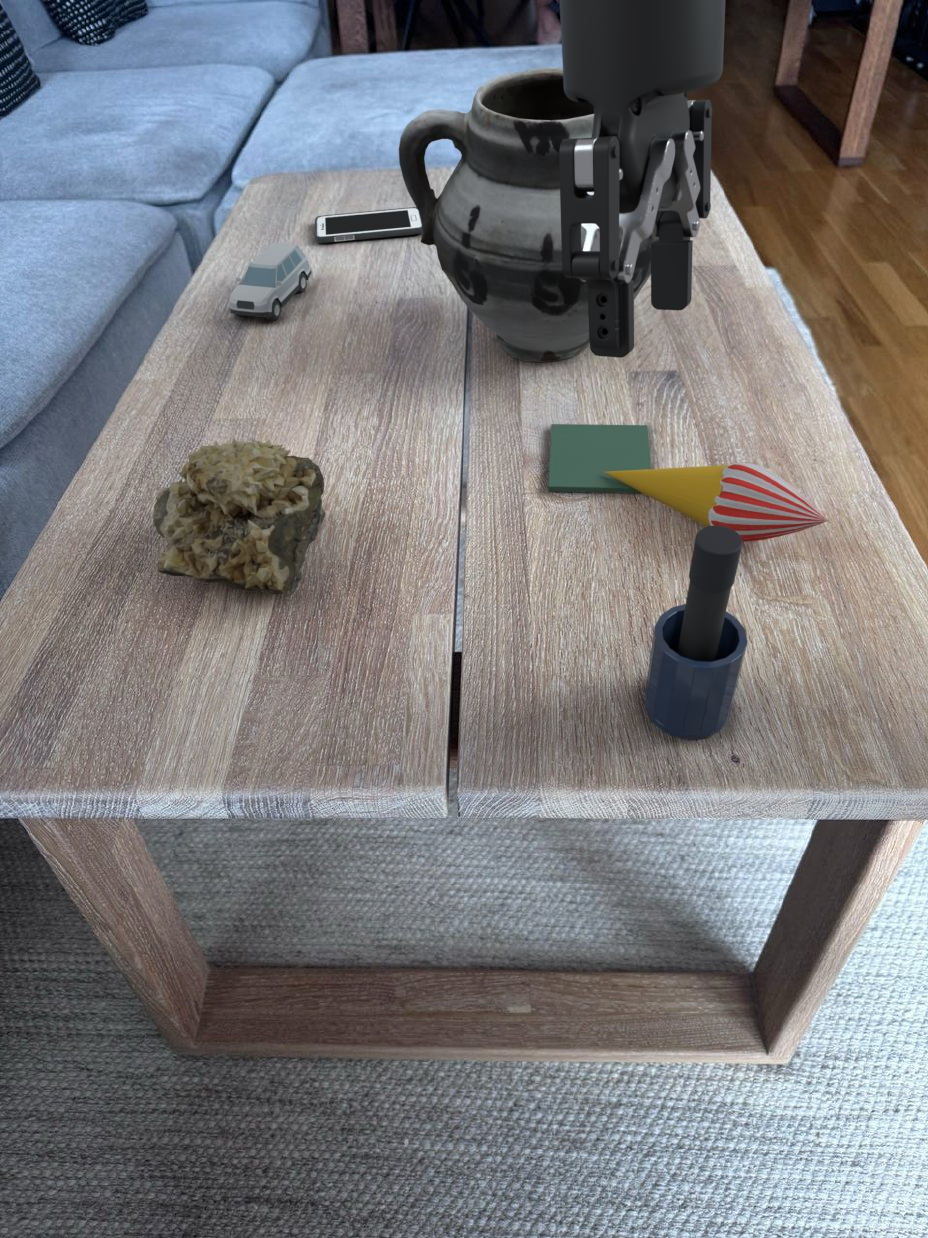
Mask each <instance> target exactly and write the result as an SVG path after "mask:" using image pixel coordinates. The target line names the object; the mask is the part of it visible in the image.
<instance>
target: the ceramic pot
mask: <svg viewBox="0 0 928 1238" xmlns="http://www.w3.org/2000/svg"><path fill="white" fill-rule="evenodd" d="M593 118H594V107H593V106H592V104H591V103H590V102H576V101H572V100H570V99H569V98H568V97H567V96H566V94H565V92H564V82H563V67H543V68H542V67H541V68H535V69H533V68H532V69H526V70H524V71H515V72H513V71H512V72H507V73H504V74H501V75H499V76H496V77H493V78H490V79H489V80H487V81H486V82H485V83H483V84H482V85H481V86H479V87H478V89H477V91H476V93H475V95H474V96H473V100H472V105H471V109H470V110H469V111H467V112H460V111H458V110H448V109H440V108H439V109H428V110H426V111H423V112H422V113H420V114H419V115H417V116H416V117H414V118H413V119H412V120H410V121H409V123H407V124H406V126H405V127H404V129H403V132H402V134H401V136H400V137H399V146H398V161H399V162H398V163H399V167H400V171H401V175H402V179H403V181H404V184H405V187H406V190H407V193H408V194H409V197H410V198H411V200H412V202H413V203H414V206H415V207H417V209H418V211H419V213H420V216H421V220H422V233H421V237H420V240H419V241H420V243H421V244H424V245H426V246H434V247H435V250H436V254H437V259H438V262H439V266H440V269H441V271H442V272H443V273H444V274H445V276H446V278H447V279H448V280H449V282H450V283H451V284H452V285H451V286H453V288H454V289H455V291H456V293H457V294H458V296H459V298H460V299H461V301H462V302H463V304H464V305H465V306H466V307H467V309H468V310H469V311H470V312H471V314H473V315H474V316H475V317H476V318H477V319H478V320H479V321H480V322H481V323H482V324H483V325H484V326H485V327H486V328H487V329H488V330H489V331H491V332H492V333H494V334H495V335H496V339H497V341H498V344H499V346H500V348H501V349H502V350H503V351H504V353H505V354H506V355H508V356H509V357H511V358H514V359H516V360H519V361H523V362H529V363H547V362H557V361H562V360H567V359H570V358H573V357H576V356H578V355H580V354H581V353H583V352H584V351H585V350H586V349H587V348H588V346H590V341H589V315H588V289H587V282H582V281H581V279H578V278H566V277H565V276H564V274H563V271H562V245H561V207H560V169H559V149H560V145H561V142H562V141H563V140H564V139H575V138H591V137H592V130H593ZM441 140H449V141H452V145H453V147H454V148H455V149H456V150H458V151H459V152H460V155H461V157H460V159H459V161H458V162H457V165H456V166H455V168H454V169H453V171H452V173H451V174H450V176H449V177H448V179H447V181H446V182H445V185H444V186H443V189H442V190H441V193H440V194H439V196H438V197H437V196H436V193H435V190H434V189H433V188H432V187H431V184H430V180H429V176H428V174H427V170H426V169H427V168H426V162H425V157H426V152H427V149H428V147H429V145H430V144H431V143H433V142H436V141H441ZM678 183H679V182H678ZM585 238H586V231H585V230H584V229H583V227H582V226H581V251H583V247H584V242H585ZM655 240H659V237H652V235H650V236H649V237H648V238H647V239H645V240H643V241H642V242H641V244H640V247H639V251H638V256H637V260H636V264H635V269H634V273H633V277H632V280H634V300H635V299H636V298H637V297H638V295H639V294H640V292H641V291H642V289H643V288H644V286H645V284H647V282H648V280H649V279H650V278H651V243H652V242H653V241H655ZM621 242H622V239H619V251H620V246H621Z"/></svg>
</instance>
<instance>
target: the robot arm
mask: <svg viewBox="0 0 928 1238" xmlns="http://www.w3.org/2000/svg"><path fill="white" fill-rule="evenodd" d="M725 15H726V0H559V17H560V36H561V37H560V39H561V40H560V41H561V54H562V55H561V58H562V59H561V60H562V68H563V82H564V92H565V94H566V96H567V97H568V98H569V99H570V100H572V101H576V102H590V103H591V104H592V106H593V107H594V118H593V130H592V137H591V138H575V139H564V140H563V141H562V142H561V145H560V149H559V169H560V207H561V245H562V271H563V274H564V276H565V277H566V278H578V279H581V281H582V282H587V289H588V315H589V341H590V343H589V350H590V351H591V353H592V355H594V356H597V357H606V358H607V357H608V358H620V359H621V358H622V359H623V358H625V357H626V356H627V355H629V354H630V353H631V352H633V350H634V348H635V299H634V280H632V277H633V273H634V269H635V264H636V260H637V256H638V251H639V247H640V244H641V242H642V241H643V240H645V239H647V238H648V237H649V236H650V235H652V237H659V240H655V241H653V242H652V243H651V275H650V303H651V306H652V307H653V308H654V309H655V310H659V311H660V310H661V311H683V310H685V309H686V308H687V307H688V306H689V305H690V304H691V302H692V289H693V288H692V287H693V286H692V285H693V251H694V249H693V247H694V241H693V240H692V239H691V238H696V237H697V236H698V234H699V231H700V227H701V221H700V219H707V218H708V217H709V215H710V211H711V207H712V203H711V191H712V190H711V189H712V188H711V185H712V184H711V183H712V182H711V181H712V180H711V179H712V177H711V176H712V175H711V174H712V118H713V117H712V116H713V107H712V102H711V100H710V99H700V100H698V99H697V100H696V99H690V100H689V99H688V93H689V92H694V91H699V90H703V89H705V88H708V87H711V86H713V85H714V84H716V83H717V82H718V81H719V80H720V78H721V77H722V75H723V71H724V53H725V51H724V49H725V26H726V25H725V22H726V20H725V19H726V16H725ZM678 182H679V183H678ZM581 226H582V227H583V229H584V230H585V231H586V238H585V242H584V247H583V251H581ZM619 239H622V242H621V246H620V251H619Z"/></svg>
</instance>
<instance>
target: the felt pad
mask: <svg viewBox="0 0 928 1238" xmlns="http://www.w3.org/2000/svg"><path fill="white" fill-rule="evenodd" d="M651 460H652V459H651V450H650V438H649V427H648V425H647V424H585V423H584V424H583V423H582V424H581V423H579V424H577V423H576V424H575V423H574V424H571V423H551V424H550V445H549V462H548V463H549V465H548V487H547V488H548V490H547V492H550V493H551V492H552V493H553V492H555V493H595V494H596V493H603V494H643V493H642V492H640V491H638V490H636V489H634V488H632V487H630V486H628V485H626V484H625V483H623V482H621V481H619V480H617V479H615V478H613V477H611V476H609V475H608V474H606V473H604V472H610V471H628V470H646V469H652V463H651V462H652V461H651Z"/></svg>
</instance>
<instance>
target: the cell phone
mask: <svg viewBox="0 0 928 1238" xmlns="http://www.w3.org/2000/svg"><path fill="white" fill-rule="evenodd" d="M420 234H421V235H422V220H421V216H420V213H419V211H418V209H417V207H416V206H411V207H401V208H399V207H398V208H387V209H379V210H377V209H376V210H366V211H358V212H357V211H356V212H346V213H335V214H326V215H325V214H324V215H318V216H316V217H315V218H314V240H315V242H316V243H318V244H327V243H328V244H329V243H335V242H337V243H338V242H346V241H360V240H371V239H382V238H391V237H393V238H394V237H402V236H403V237H404V236H413V235H414V236H415V235H420Z"/></svg>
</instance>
